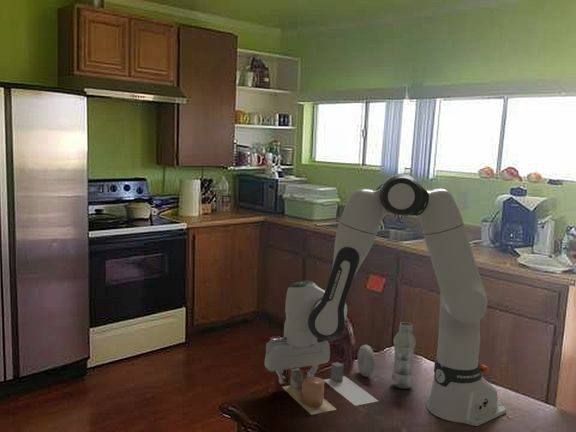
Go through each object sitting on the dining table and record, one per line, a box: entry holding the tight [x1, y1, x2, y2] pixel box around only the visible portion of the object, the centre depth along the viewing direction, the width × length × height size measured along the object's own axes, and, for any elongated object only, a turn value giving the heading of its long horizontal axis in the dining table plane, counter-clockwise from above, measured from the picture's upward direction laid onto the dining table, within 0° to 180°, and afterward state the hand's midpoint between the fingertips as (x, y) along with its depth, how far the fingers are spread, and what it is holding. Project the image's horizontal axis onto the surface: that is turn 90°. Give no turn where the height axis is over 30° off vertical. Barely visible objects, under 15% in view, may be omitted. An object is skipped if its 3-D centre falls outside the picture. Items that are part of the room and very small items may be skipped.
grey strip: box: [323, 361, 379, 407], centre depth 162 cm, size 8×18×6 cm, turn 26°
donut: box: [357, 344, 376, 378], centre depth 175 cm, size 10×4×10 cm, turn 10°
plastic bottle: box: [390, 321, 416, 390], centre depth 168 cm, size 6×7×20 cm
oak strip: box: [281, 367, 337, 416], centre depth 156 cm, size 8×18×6 cm, turn 26°
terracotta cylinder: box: [302, 376, 325, 407], centre depth 153 cm, size 6×6×6 cm
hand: (296, 380), depth 162 cm, fingers open, 8 cm apart
